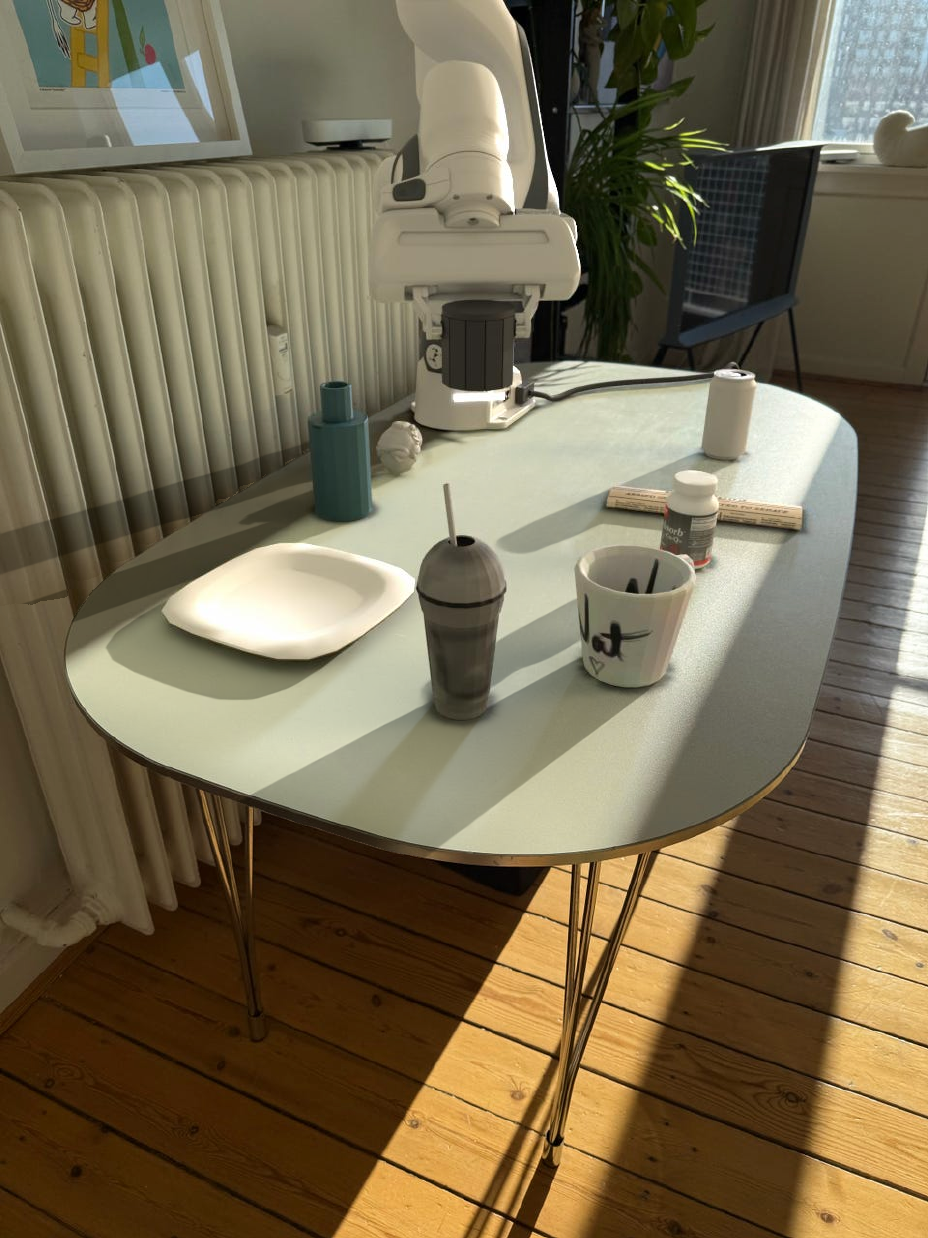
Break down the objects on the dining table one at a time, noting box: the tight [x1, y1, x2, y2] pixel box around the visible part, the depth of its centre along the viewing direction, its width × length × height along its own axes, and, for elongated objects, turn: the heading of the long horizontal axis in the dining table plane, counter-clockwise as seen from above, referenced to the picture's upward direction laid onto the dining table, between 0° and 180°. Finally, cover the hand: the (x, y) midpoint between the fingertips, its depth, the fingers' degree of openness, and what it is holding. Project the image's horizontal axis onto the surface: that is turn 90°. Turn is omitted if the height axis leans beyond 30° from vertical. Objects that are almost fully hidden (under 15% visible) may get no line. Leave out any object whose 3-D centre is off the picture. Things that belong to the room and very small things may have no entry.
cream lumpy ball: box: [375, 420, 423, 475], centre depth 125 cm, size 6×7×7 cm
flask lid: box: [441, 300, 516, 392], centre depth 85 cm, size 7×7×7 cm
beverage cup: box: [415, 482, 508, 721], centre depth 72 cm, size 7×7×20 cm
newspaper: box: [605, 484, 803, 531], centre depth 114 cm, size 24×7×2 cm, turn 73°
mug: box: [573, 544, 697, 688], centre depth 82 cm, size 10×15×10 cm
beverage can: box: [700, 368, 757, 461], centre depth 130 cm, size 6×6×12 cm
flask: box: [307, 380, 373, 523], centre depth 110 cm, size 7×7×16 cm
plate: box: [161, 542, 416, 662], centre depth 92 cm, size 22×22×2 cm
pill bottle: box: [659, 469, 719, 570], centre depth 100 cm, size 6×6×10 cm
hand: (478, 335), depth 84 cm, fingers closed on flask lid, 7 cm apart
